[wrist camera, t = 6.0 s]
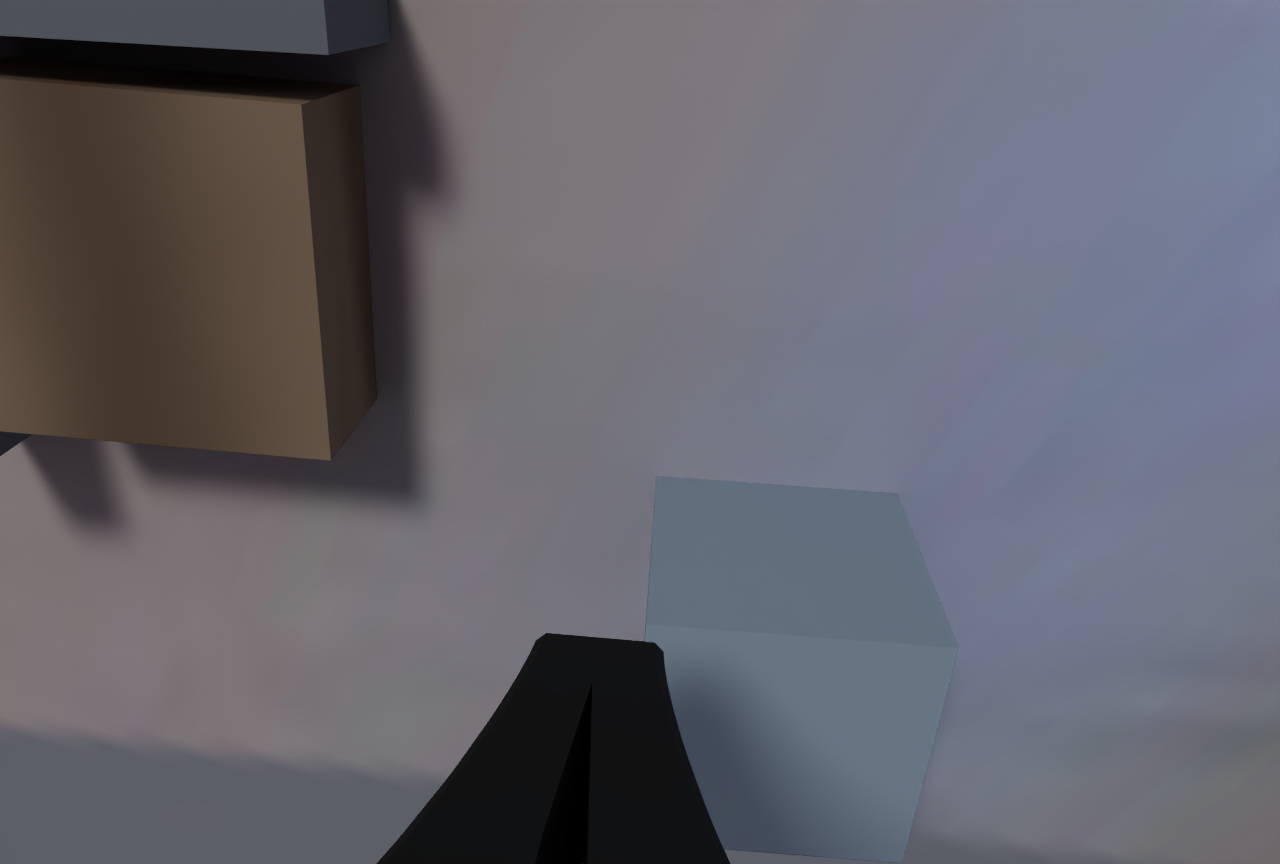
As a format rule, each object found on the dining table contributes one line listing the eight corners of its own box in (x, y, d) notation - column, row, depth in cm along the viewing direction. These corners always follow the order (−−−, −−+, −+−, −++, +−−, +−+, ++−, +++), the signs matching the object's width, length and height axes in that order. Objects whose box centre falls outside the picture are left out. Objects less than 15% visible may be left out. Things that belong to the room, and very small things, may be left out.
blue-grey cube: (896, 491, 19) (959, 648, 15) (857, 678, 21) (902, 863, 17) (656, 474, 19) (646, 624, 15) (643, 662, 22) (630, 841, 17)
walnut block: (364, 83, 16) (300, 105, 14) (381, 392, 19) (330, 460, 16) (29, 54, 16) (-101, 69, 14) (92, 366, 19) (-6, 430, 16)
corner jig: (385, -38, 15) (320, -40, 13) (415, 440, 19) (370, 515, 16) (-133, -67, 15) (-308, -77, 13) (1, 411, 19) (-111, 482, 17)
